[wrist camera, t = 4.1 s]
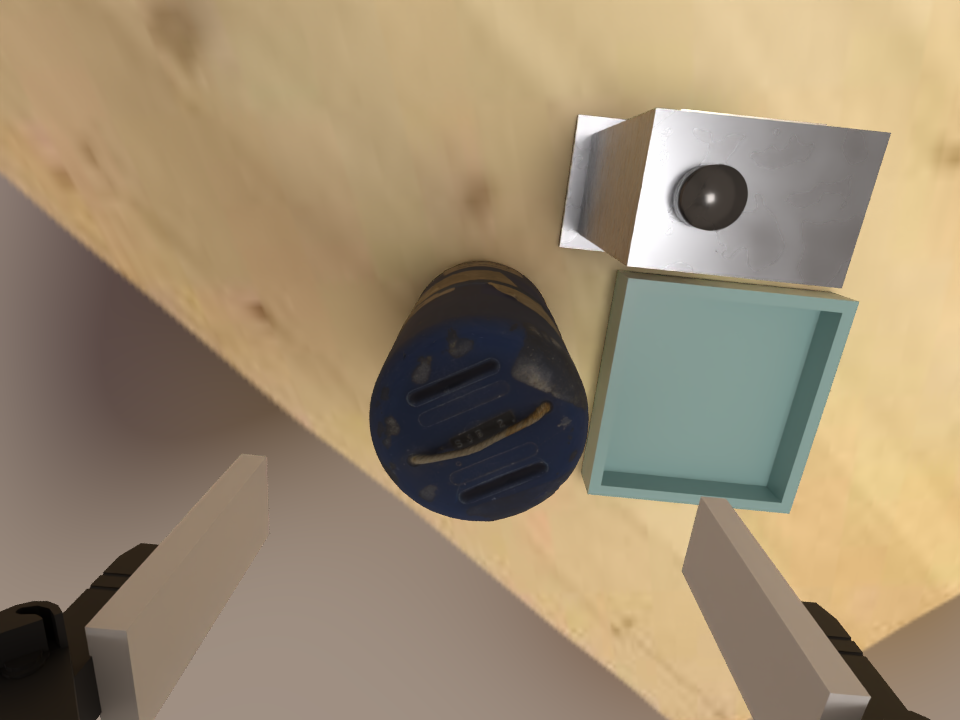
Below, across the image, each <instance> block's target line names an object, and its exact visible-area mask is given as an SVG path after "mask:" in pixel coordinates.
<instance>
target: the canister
mask: <svg viewBox="0 0 960 720" xmlns="http://www.w3.org/2000/svg"><path fill="white" fill-rule="evenodd" d="M369 420H370V432H371V437H372V441H373V445H374V448H375V451H376V454H377V456H378V458H379V460H380V462H381V464H382V466H383V468H384V469H385V471H386V472H387V474H388V475H389V476H390V478H391V479H392V480H393V481H394V483H395V484H396V485H397V486H398V487H399V488H400V489H401V490H402V491H403V492H404V493H405V494H407V495H408V496H409V497H410V498H412V499H413V500H414V501H415V502H417V503H419V504H420V505H422V506H423V507H425V508H427V509H429V510H431V511H433V512H436V513H439V514H442V515H445V516H448V517H451V518H456V519H461V520H468V521H495V520H499V519H503V518H507V517H510V516H514V515H517V514H519V513H522V512H525V511H527V510H529V509H530V508H532V507H534V506H536V505H538V504H539V503H541V502H543V501H544V500H546V499H547V498H549V497H550V496H551V495H552V494H554V493H555V491H556V490H558V488H559V487H560V485H562V484H563V483H564V482H565V481H566V480H567V479H568V477H569V476H570V475H571V473H572V472H573V470H574V469H575V467H576V465H577V463H578V461H579V459H580V457H581V455H582V453H583V450H584V447H585V443H586V440H587V433H588V421H589V417H588V403H587V397H586V393H585V389H584V386H583V383H582V381H581V378H580V376H579V374H578V371H577V369H576V367H575V365H574V363H573V361H572V359H571V357H570V355H569V353H568V350H567V348H566V346H565V344H564V342H563V340H562V337H561V334H560V331H559V329H558V327H557V325H556V323H555V321H554V319H553V317H552V315H551V313H550V311H549V309H548V307H547V305H546V302H545V300H544V298H543V297H542V295H541V294H540V292H539V290H538V289H537V288H536V287H535V285H534V284H533V283H532V282H531V281H530V280H528V279H527V278H526V277H525V276H524V275H522V274H521V273H519V272H518V271H516V270H514V269H512V268H510V267H507V266H504V265H501V264H498V263H493V262H485V261H478V262H469V263H464V264H460V265H458V266H455V267H453V268H450V269H448V270H446V271H445V272H443V273H442V274H441V275H439V276H438V277H437V278H435V279H434V280H433V281H432V282H431V283H430V284H429V285H428V287H427V288H426V289H425V290H424V292H423V293H422V295H421V297H420V298H419V300H418V302H417V303H416V305H415V307H414V309H413V311H412V312H411V314H410V315H409V317H408V318H407V320H406V322H405V323H404V325H403V327H402V329H401V331H400V333H399V335H398V337H397V339H396V341H395V343H394V345H393V347H392V349H391V351H390V353H389V355H388V357H387V359H386V361H385V363H384V365H383V367H382V370H381V372H380V374H379V376H378V378H377V381H376V383H375V386H374V389H373V393H372V397H371V403H370V413H369Z"/></svg>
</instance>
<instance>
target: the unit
mask: <svg viewBox="0 0 960 720" xmlns="http://www.w3.org/2000/svg"><path fill="white" fill-rule="evenodd" d="M826 125H827V124H818V123H809V122H799V121H790V120H781V119H771V118H762V117H753V116H743V115H734V114H725V113H715V112H706V111H697V110H687V109H680V110H672V109H663V108H655V109H652V110H650V111H647V112H645V113H643V114H640V115H638V116H635V117H633V118H630V119H628V120H624V119H615V118H605V117H596V116H587V115H578V116H577V122H576V129H575V136H574V143H573V150H572V157H571V164H570V171H569V178H568V185H567V192H566V198H565V205H564V212H563V219H562V226H561V233H560V240H559V247H565V248H574V249H584V250H594V251H603V252H606V253H608V254H609V255H611V256H612V257H614V258H615V259H617V260H618V261H620V262H621V263H623V264H625V265H626V266H630V267H640V268H650V269H659V270H669V271H679V272H689V273H698V274H708V275H718V276H727V277H737V278H747V279H756V280H766V281H776V282H786V283H795V284H805V285H815V286H824V287H834V288H842V286H843V283H844V280H845V276H846V273H847V270H848V267H849V264H850V261H851V257H852V254H853V251H854V248H855V245H856V242H857V238H858V235H859V232H860V229H861V226H862V223H863V220H864V216H865V213H866V210H867V207H868V204H869V201H870V197H871V194H872V191H873V188H874V185H875V182H876V179H877V175H878V172H879V169H880V166H881V163H882V160H883V156H884V153H885V150H886V147H887V144H888V141H889V137H890V134H891V133H887V132H878V131H868V130H859V129H850V128H840V127H831V126H826Z"/></svg>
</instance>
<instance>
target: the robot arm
mask: <svg viewBox="0 0 960 720" xmlns="http://www.w3.org/2000/svg"><path fill="white" fill-rule="evenodd" d="M269 534H270V527H269V499H268V472H267V456H259V455H248V454H241V455H240V456H239V457H238V458H237V459H236V461H235V462H234V463H233V464H232V465H231V466H230V467H229V468H228V469H227V470H226V472H225V473H224V474H223V475H222V476H221V477H220V478H219V479H218V481H216V483H215V484H214V485H213V486H212V487H211V488H210V489H209V490H208V491H207V493H206V494H205V495H204V496H203V497H202V498H201V499H200V500H199V501H198V502H197V504H196V505H195V506H194V507H193V508H192V509H191V510H190V511H189V512H188V514H187V515H186V516H185V517H184V518H183V519H182V520H181V521H180V522H179V523H178V525H177V526H176V527H175V528H174V529H173V530H172V531H171V532H170V533H169V535H168V536H167V537H166V538H165V539H164V540H163V541H162V542H161V543H160V544H159V545H155V544H144V543H141V544H139V545H137V546H136V547H134V548H132V549H131V550H129V551H127V552H125V553H124V554H122V555H120V556H119V557H118V558H117V559H116V560H115V561H114V562H113V563H112V564H111V565H110V566H109V567H108V568H107V569H106V570H105V571H104V572H103V575H100V576H99V578H97V579H96V580H95V581H94V582H93V583H92V584H91V587H90V589H86V590H85V591H84V593H82V594H81V596H80V597H79V598H78V599H77V600H76V601H75V602H74V603H73V604H72V605H71V606H70V607H69V608H68V609H67V610H66V611H65V612H64V613H62V611H61V609H60V608H59V606H58V605H56V604H54V603H51V602H48V601H32V602H28V603H23V604H19V605H15V606H13V607H10V608H8V609H5V610H3V611H1V612H0V720H96V719H97V718H98V717H99V715H100V717H101V720H154V719H155V717H156V716H157V714H158V712H159V711H160V709H161V708H162V706H163V704H164V703H165V701H166V700H167V698H168V696H169V695H170V693H171V692H172V690H173V688H174V687H175V685H176V684H177V682H178V680H179V679H180V677H181V676H182V674H183V672H184V671H185V669H186V667H187V666H188V664H189V663H190V661H191V659H192V658H193V656H194V655H195V653H196V651H197V650H198V648H199V647H200V645H201V643H202V642H203V640H204V638H205V637H206V635H207V634H208V632H209V631H210V629H211V627H212V626H213V624H214V622H215V621H216V619H217V618H218V616H219V614H220V613H221V611H222V609H223V608H224V606H225V605H226V603H227V602H228V600H229V598H230V597H231V595H232V594H233V592H234V590H235V589H236V587H237V585H238V584H239V582H240V581H241V579H242V577H243V576H244V574H245V573H246V571H247V569H248V568H249V566H250V565H251V563H252V561H253V560H254V558H255V557H256V555H257V553H258V552H259V550H260V548H261V547H262V545H263V544H264V542H265V541H266V539H267V537H268V536H269ZM682 573H683V575H684V577H685V579H686V581H687V583H688V585H689V587H690V589H691V591H692V593H693V595H694V598H695V600H696V602H697V604H698V606H699V608H700V610H701V612H702V614H703V616H704V618H705V620H706V622H707V624H708V626H709V629H710V631H711V633H712V635H713V637H714V639H715V641H716V643H717V645H718V647H719V649H720V651H721V653H722V655H723V657H724V660H725V662H726V664H727V666H728V668H729V670H730V672H731V674H732V676H733V678H734V680H735V682H736V684H737V686H738V688H739V691H740V693H741V695H742V697H743V699H744V701H745V703H746V705H747V707H748V709H749V711H750V713H751V715H752V717H753V719H754V720H930V719H928V718H926V717H924V716H922V715H919V714H917V713H915V712H912V711H908V710H907V709H906V708H905V706H904V705H903V704H902V702H901V701H900V700H899V698H898V697H897V696H896V695H895V693H894V692H893V691H892V689H891V688H890V687H889V686H888V684H887V683H886V682H885V681H884V679H883V678H882V677H881V675H880V674H879V673H878V672H877V670H876V669H875V668H874V667H873V665H872V664H871V663H870V661H869V660H868V659H867V658H866V657H864V656H863V652H862V651H861V650H860V649H859V647H858V646H857V645H856V643H855V642H854V641H851V637H850V636H849V634H848V633H847V632H846V631H845V629H844V628H843V627H842V626H841V624H840V623H839V622H838V620H837V619H836V618H834V617H833V616H832V615H831V614H829V613H828V612H827V611H826V610H824V609H823V608H822V607H821V606H819V605H818V604H817V603H813V602H802V601H800V599H799V598H798V596H797V595H796V594H795V592H794V591H793V590H792V588H791V587H790V586H789V584H788V583H787V581H786V580H785V579H784V577H783V576H782V575H781V573H780V572H779V570H778V569H777V568H776V566H775V565H774V564H773V562H772V561H771V560H770V558H769V557H768V555H767V554H766V553H765V551H764V550H763V549H762V547H761V546H760V544H759V543H758V542H757V540H756V539H755V538H754V536H753V535H752V534H751V532H750V531H749V529H748V528H747V527H746V525H745V524H744V523H743V521H742V520H741V518H740V517H739V516H738V514H737V513H736V512H735V510H734V509H733V508H732V506H731V505H730V503H729V502H728V501H727V499H725V498H714V497H703V496H701V498H700V502H699V506H698V509H697V513H696V517H695V521H694V525H693V529H692V533H691V537H690V541H689V545H688V548H687V552H686V556H685V560H684V564H683V568H682Z"/></svg>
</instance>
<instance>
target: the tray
mask: <svg viewBox="0 0 960 720" xmlns="http://www.w3.org/2000/svg"><path fill="white" fill-rule="evenodd" d="M858 304H859V302H858V301H855V300H853V299H850V298H847V297H844V296H841V295H838V294H835V293H832V292H825V291H815V290H806V289H796V288H786V287H776V286H767V285H757V284H747V283H738V282H728V281H718V280H708V279H699V278H689V277H679V276H670V275H660V274H650V273H640V272H631V271H621V270H618V272H617V278H616V283H615V289H614V294H613V300H612V305H611V311H610V316H609V322H608V327H607V333H606V338H605V344H604V349H603V355H602V360H601V366H600V371H599V377H598V383H597V388H596V394H595V399H594V405H593V410H592V416H591V421H590V427H589V432H588V438H587V443H586V449H585V454H584V460H583V465H582V471H581V473H582V477H583V480H584V483H585V486H586V490H587V493H588V494H592V495H602V496H613V497H623V498H633V499H644V500H654V501H664V502H674V503H685V504H695V505H699V502H700V498H701V496H703V497H714V498H725V499H727V501H728V502H729V503H730V505H731V506H732V508H736V509H747V510H757V511H767V512H777V513H788V514H789V513H790V510H791V507H792V504H793V501H794V498H795V495H796V492H797V489H798V486H799V483H800V480H801V477H802V474H803V471H804V468H805V465H806V462H807V459H808V456H809V452H810V449H811V446H812V443H813V440H814V437H815V434H816V431H817V428H818V425H819V422H820V419H821V416H822V413H823V410H824V407H825V404H826V401H827V398H828V395H829V392H830V389H831V386H832V383H833V380H834V377H835V374H836V371H837V368H838V365H839V362H840V359H841V356H842V352H843V349H844V346H845V343H846V340H847V337H848V334H849V331H850V328H851V325H852V322H853V319H854V316H855V313H856V310H857V307H858Z"/></svg>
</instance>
